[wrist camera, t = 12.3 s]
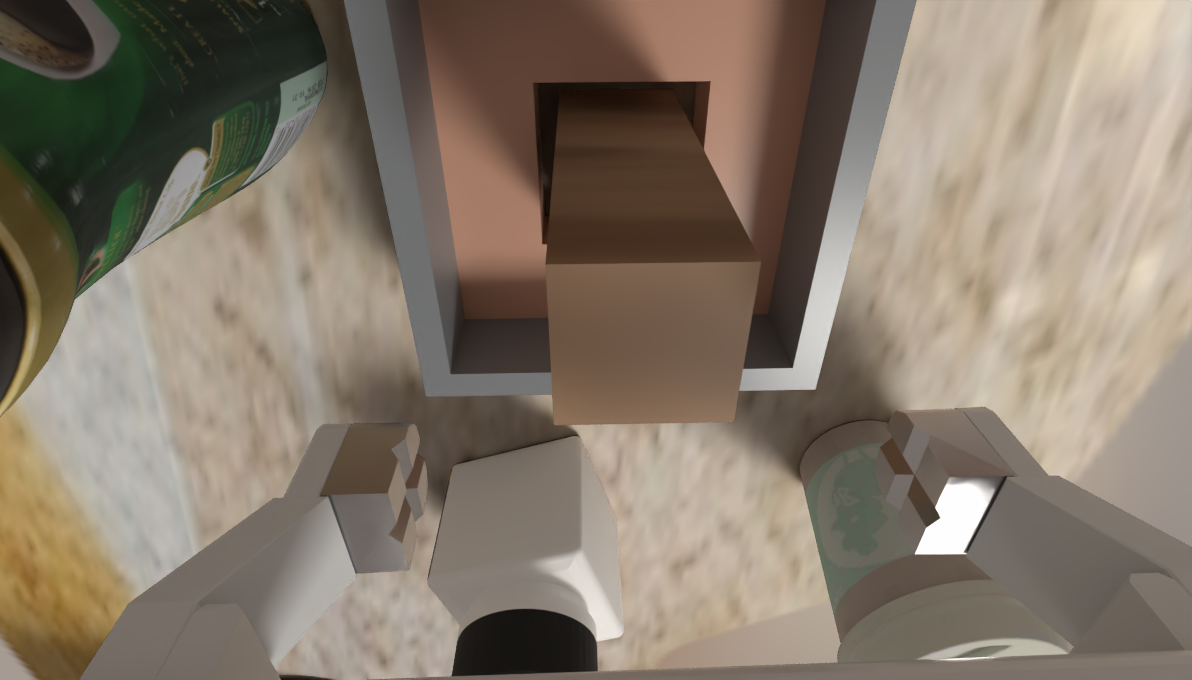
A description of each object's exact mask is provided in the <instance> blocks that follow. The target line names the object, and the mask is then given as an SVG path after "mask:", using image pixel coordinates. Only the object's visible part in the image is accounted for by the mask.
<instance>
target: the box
mask: <svg viewBox="0 0 1192 680" xmlns="http://www.w3.org/2000/svg"><path fill="white" fill-rule="evenodd" d="M916 1H917V0H344V4H345V9H346V14H347V19H348V23H349V28H350V33H351V38H352V43H353V47H354V52H355V57H356V62H357V67H358V71H359V76H360V81H361V86H362V91H363V96H364V100H365V105H366V110H367V115H368V120H369V124H370V129H371V134H372V139H373V144H374V148H375V153H376V158H377V163H378V168H379V172H380V177H381V182H382V187H383V192H384V197H385V201H386V206H387V211H388V216H389V221H390V225H391V230H392V235H393V240H394V245H395V249H396V254H397V259H398V264H399V269H400V273H401V278H402V283H403V288H404V293H405V298H406V302H407V307H408V312H409V317H410V322H411V326H412V331H413V336H414V341H415V346H416V350H417V355H418V360H419V365H420V370H421V374H422V379H423V384H424V389H425V394H426V397H446V396H499V395H551V394H552V380H551V361H550V342H549V323H548V304H547V285H546V266H545V263H546V251H547V239H548V227H549V216H545V208H544V189H543V170H542V151H541V132H540V113H539V95H538V83H559V82H675V81H697V82H696V93H695V105H694V117H693V130H694V132H695V134H696V136H697V138H698V140H699V142H700V144H701V146H702V147H703V149H704V151H705V153H706V155H707V157H708V159H709V161H710V163H711V165H712V167H713V169H714V171H715V173H716V175H717V177H718V178H719V180H720V182H721V184H722V186H723V188H724V190H725V192H726V194H727V196H728V198H729V200H730V202H731V204H732V206H733V208H734V209H735V211H736V213H737V215H738V217H739V219H740V221H741V223H742V225H743V227H744V229H745V231H746V233H747V235H748V237H749V239H750V240H751V242H752V244H753V246H754V248H755V250H756V252H757V254H758V256H759V258H760V260H761V267H760V273H759V279H758V285H757V291H756V296H755V302H754V308H753V314H752V320H751V326H750V331H749V337H748V343H747V349H746V355H745V361H744V366H743V372H742V378H741V384H740V390H739V391H762V390H814V389H816V385H817V381H818V378H819V374H820V370H821V366H822V362H823V358H824V355H825V351H826V347H827V343H828V339H829V335H830V331H831V328H832V324H833V320H834V316H835V312H836V308H837V305H838V301H839V297H840V293H841V289H842V285H843V281H844V278H845V274H846V270H847V266H848V262H849V258H850V254H851V251H852V247H853V243H854V239H855V235H856V231H857V228H858V224H859V220H860V216H861V212H862V208H863V204H864V201H865V197H866V193H867V189H868V185H869V181H870V178H871V174H872V170H873V166H874V162H875V158H876V154H877V151H878V147H879V143H880V139H881V135H882V131H883V128H884V124H885V120H886V116H887V112H888V108H889V104H890V101H891V97H892V93H893V89H894V85H895V81H896V77H897V74H898V70H899V66H900V62H901V58H902V54H903V51H904V47H905V43H906V39H907V35H908V31H909V27H910V24H911V20H912V16H913V12H914V8H915V4H916Z"/></svg>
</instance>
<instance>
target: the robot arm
mask: <svg viewBox="0 0 1192 680" xmlns="http://www.w3.org/2000/svg"><path fill="white" fill-rule="evenodd" d="M887 430H888V432H889V433H890V435H891V437H892V438H891V439H889V440H888V441H887V442H886V443H884V444H883V445H882V446H881V447H880V448H879V452H878V455H877V458H876V479H877V482H878V486H879V489H880V491H881V493H882V495H883V497H884V499H885V501H887V502H888V503H890V504H891V505H892V506H894V507H895V508H897V509H898V510H900V513H899V517H898V520H897V523H898V525H899V527H900V528H901V530H902V532H903V534H904V536H905V537H906V539H907V541H908V543H909V545H910V547H911V548H912V550H913V552H914V554H966V556H965V557H967V558H968V559H969V560H970V561H971V562H973V563H974V564H975V565H976V566H977V567H979V568H980V569H981V570H982V571H983V572H985V573H986V574H987V575H988V576H989V577H991V578H992V579H993V580H994V581H996V582H997V583H998V584H999V585H1000V586H1002V587H1003V588H1004V589H1005V590H1006V591H1008V592H1009V593H1010V594H1011V595H1012V596H1014V597H1015V598H1016V599H1017V600H1018V601H1020V602H1021V603H1022V604H1023V605H1024V606H1026V607H1027V608H1028V609H1029V610H1030V611H1032V612H1033V613H1034V614H1035V615H1037V616H1038V617H1039V618H1040V619H1041V620H1043V621H1044V622H1045V623H1046V624H1047V625H1049V626H1050V627H1051V628H1052V629H1053V630H1055V631H1056V632H1057V633H1058V634H1059V635H1061V636H1062V637H1063V638H1064V639H1065V640H1067V641H1068V642H1069V643H1070V644H1072V645H1073V646H1074V648H1073V649H1072V650H1071V652H1070V653H1069V654H1057V655H1030V656H1002V657H975V658H948V659H920V660H893V661H866V662H838V663H812V664H785V665H760V666H732V667H705V668H679V669H650V670H621V671H593V672H565V673H536V674H508V675H479V676H451V677H424V678H397V679H369V680H1192V547H1191V546H1189V545H1187V544H1185V543H1183V542H1181V541H1179V540H1178V539H1176V538H1174V537H1172V536H1170V535H1168V534H1166V533H1164V532H1163V531H1161V530H1159V529H1157V528H1155V527H1153V526H1151V525H1149V524H1147V523H1146V522H1144V521H1142V520H1140V519H1138V518H1136V517H1135V516H1133V515H1131V514H1129V513H1127V512H1125V511H1123V510H1122V509H1120V508H1118V507H1116V506H1114V505H1112V504H1110V503H1108V502H1106V501H1105V500H1102V499H1101V498H1099V497H1097V496H1095V495H1093V494H1091V493H1090V492H1088V491H1086V490H1084V489H1082V488H1080V487H1078V486H1076V485H1075V484H1073V483H1071V482H1069V481H1067V480H1065V479H1063V478H1062V477H1060V476H1049V475H1048V474H1047V473H1046V472H1045V471H1044V470H1043V468H1042V467H1041V466H1040V465H1039V464H1038V463H1037V461H1036V460H1035V459H1034V458H1033V457H1032V456H1031V455H1030V453H1029V452H1028V451H1027V450H1026V449H1025V448H1024V446H1023V445H1022V444H1021V443H1020V442H1019V441H1018V439H1017V438H1016V437H1015V436H1014V435H1013V434H1012V432H1011V431H1010V430H1009V429H1008V428H1007V427H1006V425H1005V424H1004V423H1003V422H1002V421H1001V420H1000V418H999V417H998V416H997V415H996V414H995V413H994V412H993V411H992V410H990V409H988V408H986V407H974V408H955V409H933V410H902V411H896V412H895V413H894V414H893V415H892V416H891V417H890V420H889V422H888V425H887ZM419 443H420V437H419V434H418V430H417V426H416V425H414V424H413V423H354V424H323V425H322V426H321V427H319V428H318V429H317V430H316V432H315V434H314V436H313V438H312V440H311V442H310V444H309V447H308V449H307V451H306V453H305V455H304V457H303V459H302V461H301V463H300V465H299V467H298V469H297V471H296V473H295V475H294V477H293V479H292V481H291V483H290V485H289V487H288V489H287V491H286V493H285V495H284V497H283V498H273V499H272V500H271V501H269V502H268V503H266V504H265V505H264V506H262V507H261V508H260V509H258V510H257V511H255V512H254V513H253V514H251V515H250V516H248V517H247V518H246V519H244V520H243V521H242V522H240V523H239V524H237V525H236V526H235V527H233V528H232V529H231V530H229V531H228V532H226V533H225V534H224V535H222V536H221V537H220V538H218V539H217V540H215V541H214V542H213V543H211V544H210V545H209V546H207V547H206V548H204V549H203V550H202V551H200V552H199V553H198V554H196V555H195V556H193V557H192V558H191V559H189V560H188V561H186V562H185V563H184V564H182V565H181V566H180V567H178V568H177V569H175V570H174V571H173V572H171V573H170V574H169V575H167V576H166V577H164V578H163V579H162V580H160V581H159V582H158V583H156V584H155V585H153V586H152V587H151V588H149V589H148V590H147V591H145V592H144V593H142V594H141V595H140V596H138V597H137V598H135V599H134V600H133V601H131V602H130V603H129V604H128V605H127V606H126V608H125V610H124V611H123V613H122V614H121V616H120V617H119V619H118V620H117V622H116V623H115V625H114V627H113V628H112V630H111V631H110V633H109V634H108V636H107V637H106V639H105V641H104V642H103V644H102V645H101V647H100V648H99V650H98V651H97V653H96V654H95V656H94V658H93V659H92V661H91V662H90V664H89V665H88V667H87V668H86V670H85V671H84V673H83V675H82V676H81V678H80V679H79V680H281V679H280V677H279V675H278V674H277V672H276V670H275V667H276V666H277V665H278V664H279V662H280V661H281V660H282V659H283V658H284V657H285V656H286V655H287V654H288V652H289V651H290V650H291V649H292V648H293V647H294V646H295V645H296V644H297V642H298V641H299V640H300V639H301V638H302V637H303V636H304V635H305V634H306V632H307V631H308V630H309V629H310V628H311V627H312V626H313V625H314V624H315V622H316V621H317V620H318V619H319V618H320V617H321V616H322V615H323V613H324V612H325V611H326V610H327V609H328V608H329V607H330V606H331V605H332V603H333V602H334V601H335V600H336V599H337V598H338V597H339V596H340V595H341V593H342V592H343V591H344V590H345V589H346V588H347V587H348V586H349V585H350V583H351V582H352V581H353V580H354V579H355V578H356V574H357V573H374V572H391V571H408V570H410V566H411V562H412V558H413V554H414V550H415V546H416V542H417V538H418V535H417V531H416V526H415V522H416V521H417V520H418V519H419V518H420V517H421V516H422V515H423V513H424V509H425V504H426V499H427V486H428V481H427V469H426V464H425V460H424V459H423V458H422V457H421V456H420V455H418V454H417V451H418V447H419Z"/></svg>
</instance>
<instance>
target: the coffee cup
mask: <svg viewBox="0 0 1192 680" xmlns="http://www.w3.org/2000/svg"><path fill="white" fill-rule="evenodd" d="M887 425H888V423H886V422H882V421H873V420H866V421H857V422H851V423H847V424H844V425H841V426H838V427H836V428H834V429H831V430H830V431H828V432H826V433H825V434H823V435H821V436H820V437H819V438H818V439H816V440H815V441H814V442H813V443H812V444H811V445H810V446H809V447H808V449H807V450H806V452H805V453H804V455H803V457H802V460H801V464H800V474H801V478H802V483H803V487H804V491H805V496H806V500H807V505H808V509H809V513H810V517H811V521H812V526H813V530H814V534H815V538H816V542H817V547H818V551H819V555H820V559H821V563H822V568H823V572H824V576H825V580H826V584H827V589H828V593H829V597H830V601H831V605H832V609H833V614H834V617H835V622H836V626H837V630H838V634H839V638H840V642H841V644H840V647H839V650H838V655H837V660H838V662H866V661H893V660H920V659H948V658H975V657H1002V656H1030V655H1057V654H1069V653H1070V650H1069V647H1068V644H1067V641H1066V640H1065V639H1064V638H1063V637H1062V636H1061V635H1059V634H1058V633H1057V632H1056V631H1055V630H1053V629H1052V628H1051V627H1050V626H1049V625H1047V624H1046V623H1045V622H1044V621H1043V620H1041V619H1040V618H1039V617H1038V616H1037V615H1035V614H1034V613H1033V612H1032V611H1030V610H1029V609H1028V608H1027V607H1026V606H1024V605H1023V604H1022V603H1021V602H1020V601H1018V600H1017V599H1016V598H1015V597H1014V596H1012V595H1011V594H1010V593H1009V592H1008V591H1006V590H1005V589H1004V588H1003V587H1002V586H1000V585H999V584H998V583H997V582H996V581H994V580H993V579H992V578H991V577H989V576H988V575H987V574H986V573H985V572H983V571H982V570H981V569H980V568H979V567H977V566H976V565H975V564H974V563H973V562H971V561H970V560H969V559H968V558H967V557H965V556H966V554H914V552H913V550H912V548H911V547H910V545H909V543H908V541H907V539H906V537H905V536H904V534H903V532H902V530H901V528H900V527H899V525H898V523H897V520H898V517H899V513H900V510H898V509H897V508H895V507H894V506H892V505H891V504H890V503H888V502H887V501H885V499H884V497H883V495H882V493H881V491H880V489H879V486H878V482H877V479H876V458H877V455H878V452H879V448H880V447H881V446H882V445H883V444H884V443H886V442H887V441H888V440H889V439H891V438H892V437H891V435H890V433H889V432H888V430H887Z"/></svg>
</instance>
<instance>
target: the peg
mask: <svg viewBox="0 0 1192 680" xmlns="http://www.w3.org/2000/svg"><path fill="white" fill-rule="evenodd" d="M545 266H546V285H547V304H548V323H549V342H550V361H551V380H552V399H553V418H554V425H590V424H644V423H698V422H734V419H735V413H736V407H737V401H738V396H739V390H740V384H741V378H742V372H743V366H744V361H745V355H746V349H747V343H748V337H749V331H750V326H751V320H752V314H753V308H754V302H755V296H756V291H757V285H758V279H759V273H760V267H761V260H760V258H759V256H758V254H757V252H756V250H755V248H754V246H753V244H752V242H751V240H750V239H749V237H748V235H747V233H746V231H745V229H744V227H743V225H742V223H741V221H740V219H739V217H738V215H737V213H736V211H735V209H734V208H733V206H732V204H731V202H730V200H729V198H728V196H727V194H726V192H725V190H724V188H723V186H722V184H721V182H720V180H719V178H718V177H717V175H716V173H715V171H714V169H713V167H712V165H711V163H710V161H709V159H708V157H707V155H706V153H705V151H704V149H703V147H702V146H701V144H700V142H699V140H698V138H697V136H696V134H695V132H694V130H693V128H692V126H691V124H690V122H689V120H688V118H687V116H686V115H685V113H684V111H683V109H682V107H681V105H680V103H679V101H678V99H677V97H676V95H675V93H674V91H673V89H604V90H560V94H559V106H558V119H557V131H556V143H555V155H554V167H553V179H552V191H551V203H550V215H549V227H548V239H547V251H546V263H545Z"/></svg>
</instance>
